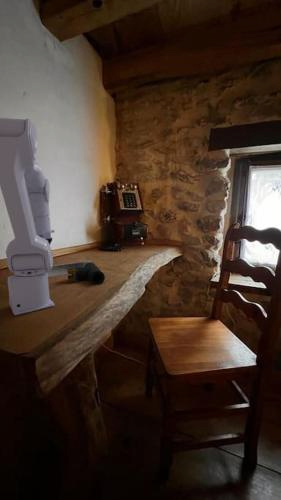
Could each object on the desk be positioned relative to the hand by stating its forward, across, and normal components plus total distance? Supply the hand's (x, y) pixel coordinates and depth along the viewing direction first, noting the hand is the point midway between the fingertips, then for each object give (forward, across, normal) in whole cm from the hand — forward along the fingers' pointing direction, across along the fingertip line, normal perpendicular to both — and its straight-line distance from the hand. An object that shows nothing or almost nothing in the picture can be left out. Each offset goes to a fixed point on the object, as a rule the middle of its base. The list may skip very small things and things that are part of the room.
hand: (43, 259), depth 74 cm
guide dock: (+9, +11, -12) cm, 19 cm away
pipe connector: (+10, 0, -14) cm, 17 cm away
